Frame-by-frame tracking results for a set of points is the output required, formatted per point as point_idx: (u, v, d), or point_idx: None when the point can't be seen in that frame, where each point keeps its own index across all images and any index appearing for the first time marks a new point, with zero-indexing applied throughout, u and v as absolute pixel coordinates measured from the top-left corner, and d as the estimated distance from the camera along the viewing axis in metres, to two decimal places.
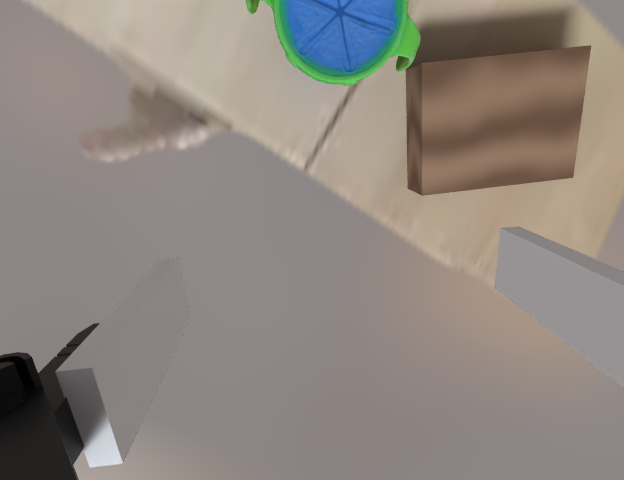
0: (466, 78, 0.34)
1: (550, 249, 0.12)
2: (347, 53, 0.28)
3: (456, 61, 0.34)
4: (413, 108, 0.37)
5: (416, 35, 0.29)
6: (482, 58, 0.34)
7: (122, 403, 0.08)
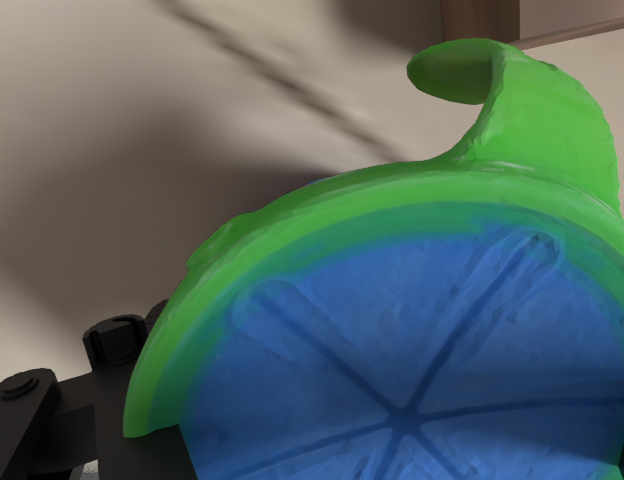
0: None
1: None
2: (562, 403, 0.07)
3: None
4: (594, 30, 0.12)
5: (526, 82, 0.06)
6: None
7: None
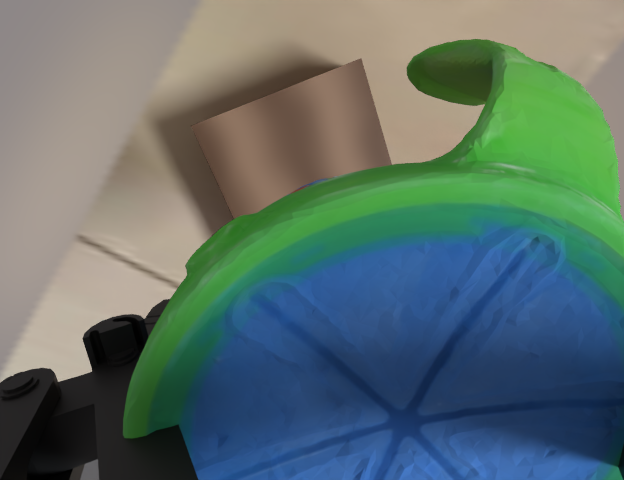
0: None
1: None
2: (562, 405, 0.07)
3: None
4: None
5: (527, 83, 0.06)
6: None
7: None
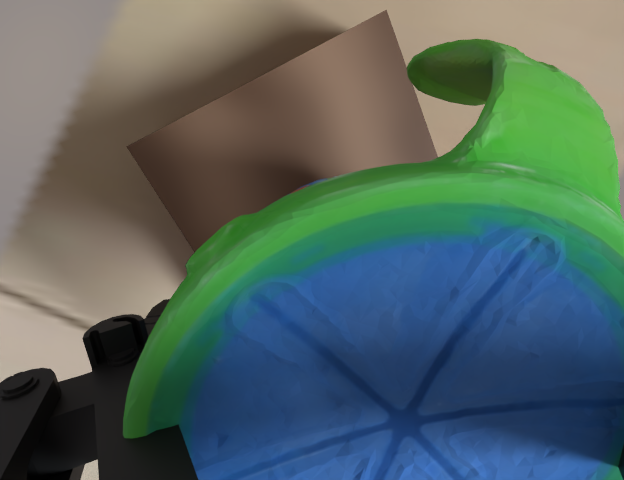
0: None
1: None
2: (562, 404, 0.07)
3: None
4: None
5: (527, 83, 0.06)
6: None
7: None
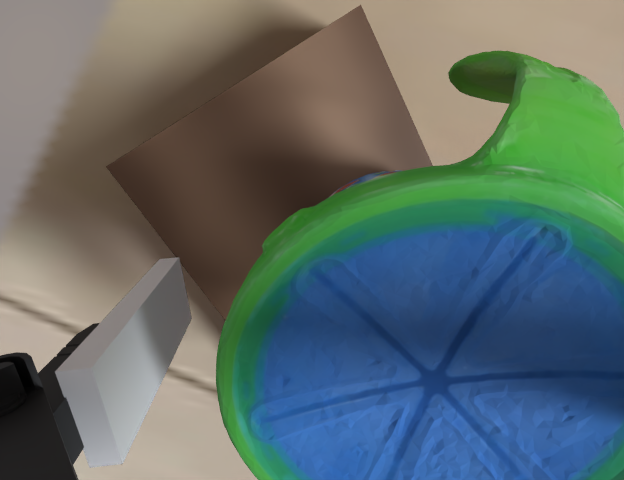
0: None
1: None
2: (579, 375, 0.08)
3: None
4: None
5: (543, 96, 0.07)
6: None
7: (122, 403, 0.08)
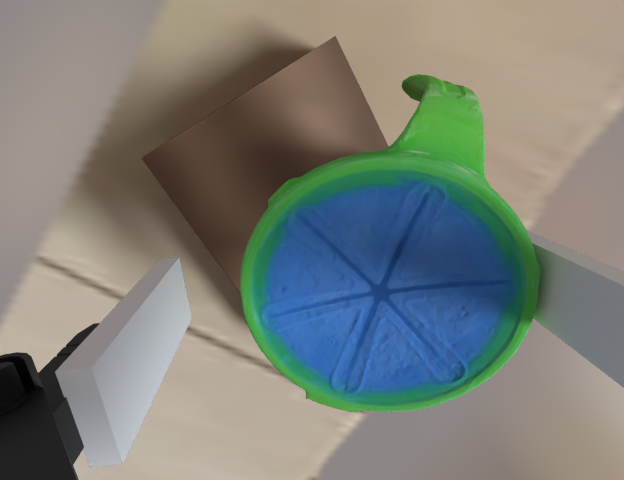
0: None
1: (550, 249, 0.12)
2: (468, 284, 0.12)
3: None
4: None
5: (433, 108, 0.11)
6: None
7: (122, 403, 0.08)
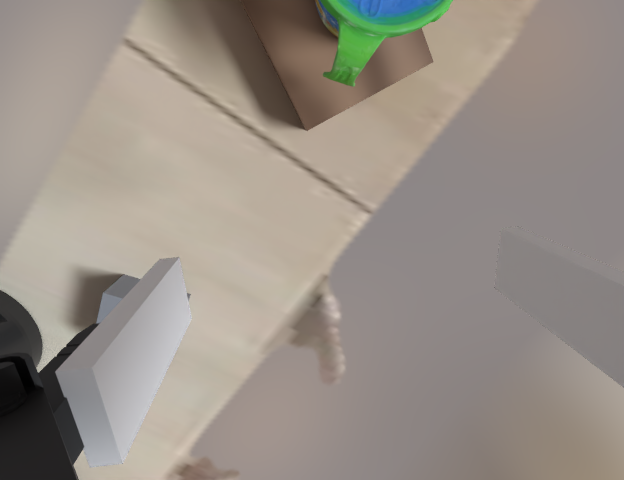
0: (302, 74, 0.32)
1: (550, 249, 0.12)
2: None
3: (291, 94, 0.32)
4: None
5: None
6: (277, 67, 0.31)
7: (122, 403, 0.08)
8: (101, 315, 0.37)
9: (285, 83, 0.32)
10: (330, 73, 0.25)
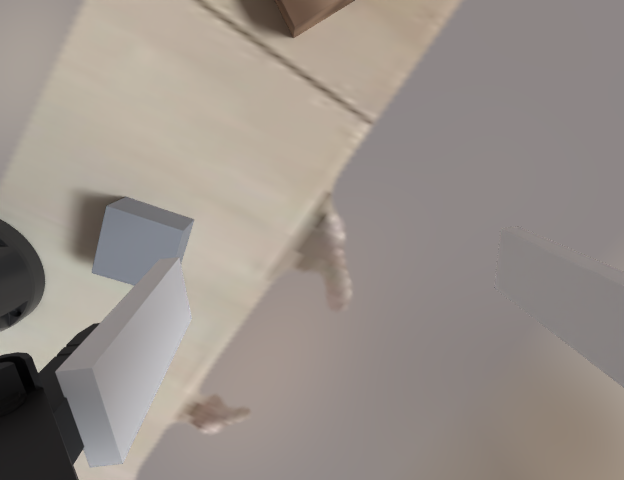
0: None
1: (550, 249, 0.12)
2: None
3: None
4: (329, 10, 0.34)
5: None
6: None
7: (122, 403, 0.08)
8: (104, 230, 0.37)
9: None
10: None
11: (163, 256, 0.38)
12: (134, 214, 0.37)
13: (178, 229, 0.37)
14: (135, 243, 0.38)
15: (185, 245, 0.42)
